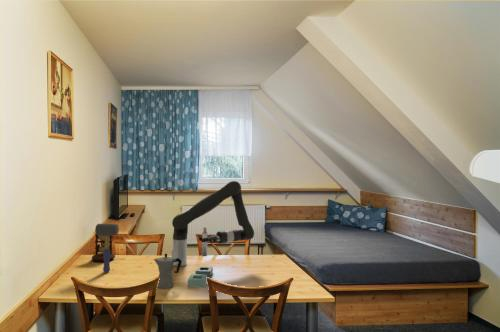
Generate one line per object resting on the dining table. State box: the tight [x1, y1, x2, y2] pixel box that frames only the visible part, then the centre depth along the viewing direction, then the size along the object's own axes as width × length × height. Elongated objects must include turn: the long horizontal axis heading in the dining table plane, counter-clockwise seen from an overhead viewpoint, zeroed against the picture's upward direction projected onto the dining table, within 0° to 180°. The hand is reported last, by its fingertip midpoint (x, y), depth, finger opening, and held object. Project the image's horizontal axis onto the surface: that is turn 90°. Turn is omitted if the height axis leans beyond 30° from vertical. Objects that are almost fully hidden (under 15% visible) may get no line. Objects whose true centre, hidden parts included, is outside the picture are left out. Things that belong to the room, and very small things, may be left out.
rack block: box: [187, 273, 207, 288], centre depth 204 cm, size 9×9×4 cm
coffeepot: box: [153, 253, 182, 290], centre depth 200 cm, size 15×9×18 cm, turn 89°
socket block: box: [194, 265, 214, 277], centre depth 219 cm, size 9×9×4 cm
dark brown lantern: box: [91, 233, 116, 262], centre depth 247 cm, size 15×15×20 cm
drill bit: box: [201, 227, 208, 257], centre depth 219 cm, size 3×3×17 cm
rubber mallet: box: [95, 222, 120, 273], centre depth 221 cm, size 12×8×30 cm, turn 93°
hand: (200, 239), depth 217 cm, fingers closed on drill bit, 3 cm apart
